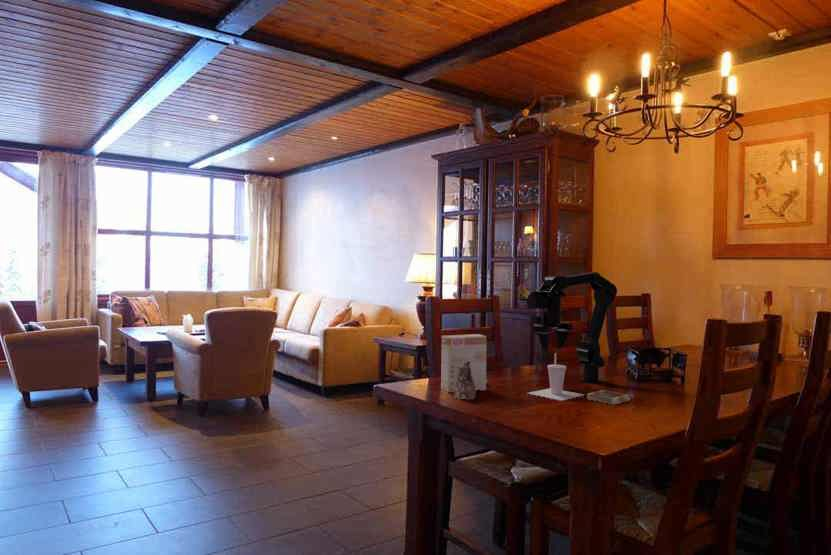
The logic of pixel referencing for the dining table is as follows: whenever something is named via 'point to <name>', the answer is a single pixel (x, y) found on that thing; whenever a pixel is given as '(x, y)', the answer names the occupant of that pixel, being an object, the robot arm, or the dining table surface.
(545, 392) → the mat
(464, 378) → the figurine
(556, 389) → the smoothie
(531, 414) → the dining table surface
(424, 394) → the dining table surface
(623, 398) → the holder
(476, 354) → the coffeecake box
